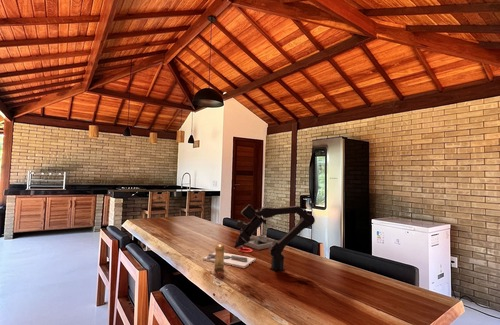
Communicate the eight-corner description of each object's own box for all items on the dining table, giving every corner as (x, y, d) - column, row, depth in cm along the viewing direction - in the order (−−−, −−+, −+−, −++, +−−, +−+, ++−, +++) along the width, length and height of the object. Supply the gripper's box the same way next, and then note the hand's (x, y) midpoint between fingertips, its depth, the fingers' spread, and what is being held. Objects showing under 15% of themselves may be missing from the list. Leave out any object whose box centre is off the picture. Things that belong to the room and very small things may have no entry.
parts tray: (279, 245, 204) (279, 241, 205) (258, 249, 190) (258, 245, 190) (260, 239, 221) (260, 235, 221) (239, 242, 207) (239, 239, 207)
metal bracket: (263, 238, 197) (247, 235, 206) (262, 246, 195) (246, 242, 205) (274, 240, 208) (258, 237, 217) (272, 248, 206) (256, 244, 215)
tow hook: (254, 251, 189) (242, 248, 192) (255, 232, 189) (243, 230, 193) (249, 254, 181) (237, 251, 185) (250, 235, 181) (238, 232, 185)
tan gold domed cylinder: (225, 269, 149) (226, 245, 150) (217, 271, 146) (218, 247, 146) (220, 266, 153) (221, 243, 154) (212, 268, 150) (213, 245, 150)
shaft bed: (255, 260, 167) (255, 255, 167) (244, 268, 152) (244, 262, 152) (216, 253, 179) (217, 248, 179) (203, 259, 164) (203, 254, 164)
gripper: (244, 213, 163) (226, 233, 162) (243, 217, 144) (223, 238, 143) (257, 226, 162) (240, 245, 161) (258, 231, 143) (238, 253, 142)
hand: (235, 245), depth 152 cm, fingers open, 9 cm apart
